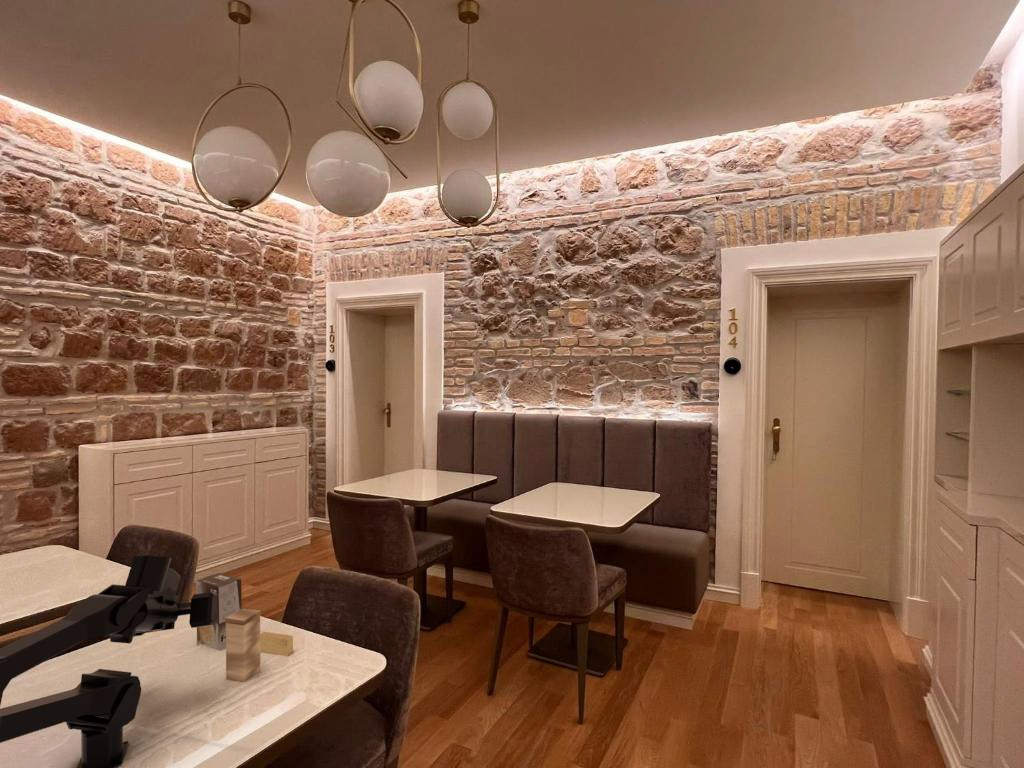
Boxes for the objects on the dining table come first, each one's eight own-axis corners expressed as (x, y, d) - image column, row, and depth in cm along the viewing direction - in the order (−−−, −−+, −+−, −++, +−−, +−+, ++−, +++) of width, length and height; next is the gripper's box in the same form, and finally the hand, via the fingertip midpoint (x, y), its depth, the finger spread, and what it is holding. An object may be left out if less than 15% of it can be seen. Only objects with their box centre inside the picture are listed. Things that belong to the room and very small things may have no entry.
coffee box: (243, 643, 138) (243, 578, 138) (219, 655, 132) (219, 586, 132) (219, 635, 142) (219, 572, 142) (195, 646, 137) (194, 580, 136)
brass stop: (287, 656, 130) (287, 639, 130) (257, 652, 132) (257, 635, 132) (292, 652, 132) (292, 635, 132) (263, 648, 134) (263, 631, 134)
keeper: (244, 682, 119) (243, 620, 119) (225, 678, 120) (225, 618, 120) (261, 669, 124) (260, 610, 124) (243, 666, 125) (242, 608, 125)
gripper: (200, 562, 109) (234, 569, 124) (98, 576, 108) (145, 582, 122) (195, 624, 105) (231, 624, 119) (90, 640, 104) (139, 638, 118)
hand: (186, 615), depth 120 cm, fingers open, 9 cm apart
